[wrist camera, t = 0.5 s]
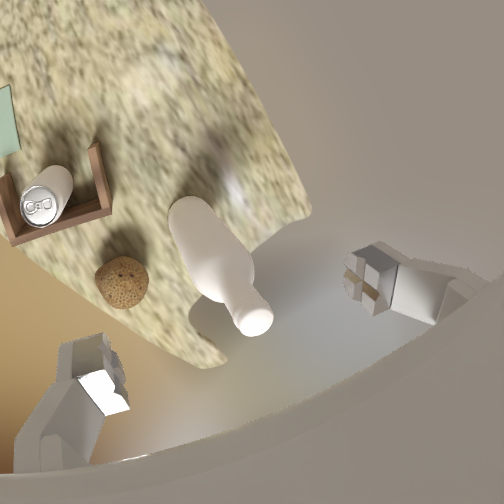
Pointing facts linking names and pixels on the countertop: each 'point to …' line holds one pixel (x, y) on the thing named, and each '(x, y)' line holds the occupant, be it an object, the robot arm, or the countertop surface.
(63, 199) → the can
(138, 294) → the natural sponge
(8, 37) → the countertop surface
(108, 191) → the brown wooden u-shaped frame
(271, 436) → the robot arm
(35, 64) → the countertop surface
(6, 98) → the mat
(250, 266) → the bottle
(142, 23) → the countertop surface
